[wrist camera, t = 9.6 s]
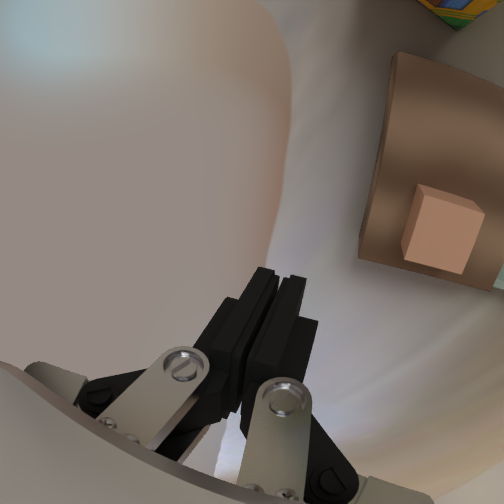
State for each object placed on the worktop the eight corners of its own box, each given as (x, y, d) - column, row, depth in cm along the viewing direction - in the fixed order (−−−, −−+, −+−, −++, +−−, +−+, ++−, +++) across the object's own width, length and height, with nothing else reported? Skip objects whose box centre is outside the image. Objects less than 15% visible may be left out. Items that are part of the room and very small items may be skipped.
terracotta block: (417, 183, 18) (424, 194, 16) (473, 201, 17) (485, 214, 15) (400, 242, 20) (404, 259, 18) (453, 256, 19) (461, 274, 17)
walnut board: (392, 58, 18) (398, 50, 14) (523, 107, 15) (547, 112, 12) (359, 235, 25) (358, 257, 22) (477, 266, 23) (490, 291, 19)
